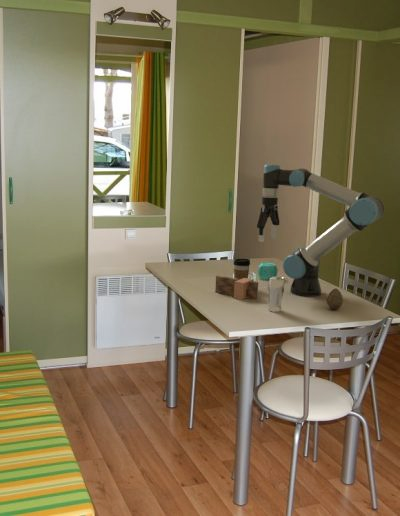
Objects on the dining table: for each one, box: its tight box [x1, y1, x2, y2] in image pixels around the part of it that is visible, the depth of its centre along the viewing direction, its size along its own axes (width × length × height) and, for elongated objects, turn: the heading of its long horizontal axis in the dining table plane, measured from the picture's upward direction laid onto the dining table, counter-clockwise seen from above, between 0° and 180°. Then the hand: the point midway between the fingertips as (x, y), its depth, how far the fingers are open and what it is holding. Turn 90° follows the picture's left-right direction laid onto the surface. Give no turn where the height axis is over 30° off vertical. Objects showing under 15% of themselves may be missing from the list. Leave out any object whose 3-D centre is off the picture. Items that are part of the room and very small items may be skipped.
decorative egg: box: [326, 288, 344, 311], centre depth 315 cm, size 7×7×10 cm
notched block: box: [233, 277, 254, 300], centre depth 333 cm, size 10×5×8 cm, turn 149°
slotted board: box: [214, 274, 259, 300], centre depth 335 cm, size 22×2×8 cm, turn 59°
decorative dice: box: [257, 262, 279, 281], centre depth 373 cm, size 8×8×8 cm
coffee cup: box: [233, 258, 251, 280], centre depth 348 cm, size 8×8×15 cm
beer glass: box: [267, 276, 285, 313], centre depth 309 cm, size 7×7×15 cm
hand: (267, 240), depth 337 cm, fingers open, 13 cm apart
